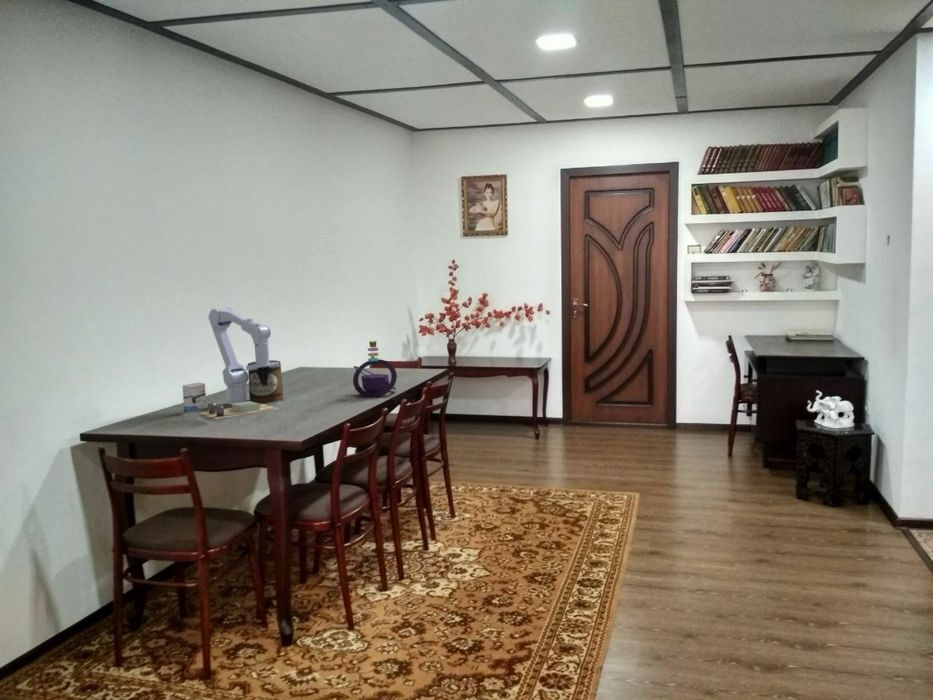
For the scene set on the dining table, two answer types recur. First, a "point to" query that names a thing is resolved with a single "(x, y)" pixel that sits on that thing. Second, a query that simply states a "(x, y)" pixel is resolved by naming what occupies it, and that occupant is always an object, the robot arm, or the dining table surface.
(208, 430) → the dining table surface
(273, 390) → the wooden container
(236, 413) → the bench board
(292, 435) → the dining table surface
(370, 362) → the decorative bottle
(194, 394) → the ink box
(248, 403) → the mint green book-shaped slab
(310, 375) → the dining table surface
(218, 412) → the cylinder
